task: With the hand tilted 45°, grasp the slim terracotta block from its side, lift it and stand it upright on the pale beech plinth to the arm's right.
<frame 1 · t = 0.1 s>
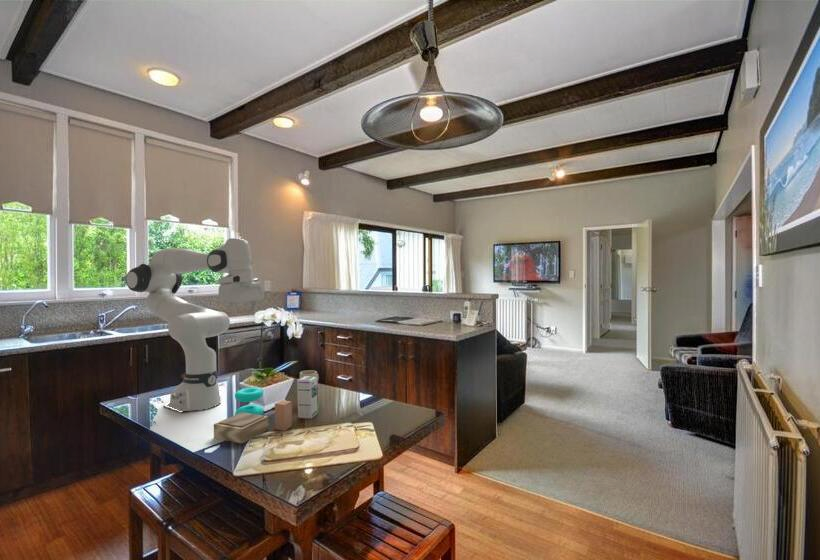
hand: (244, 313, 151), 39 cm above the table, tool pointing down, fingers open, 8 cm apart
donuts: (249, 416, 146), on the table
syrup box: (308, 416, 146), on the table
plinth: (241, 433, 130), on the table
terracotta block: (283, 427, 135), on the table
character mug: (308, 403, 162), on the table
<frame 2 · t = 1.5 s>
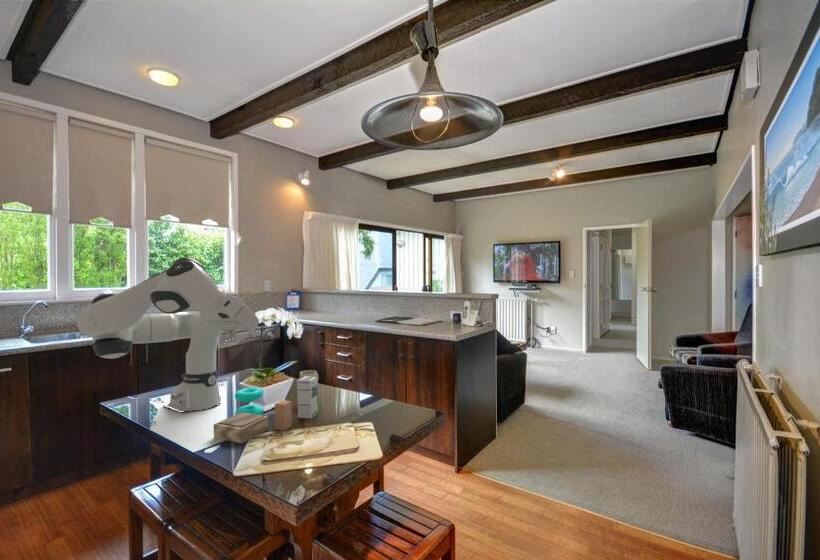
hand: (244, 335, 122), 35 cm above the table, tool tilted 45°, fingers open, 8 cm apart
nothing on the table moved.
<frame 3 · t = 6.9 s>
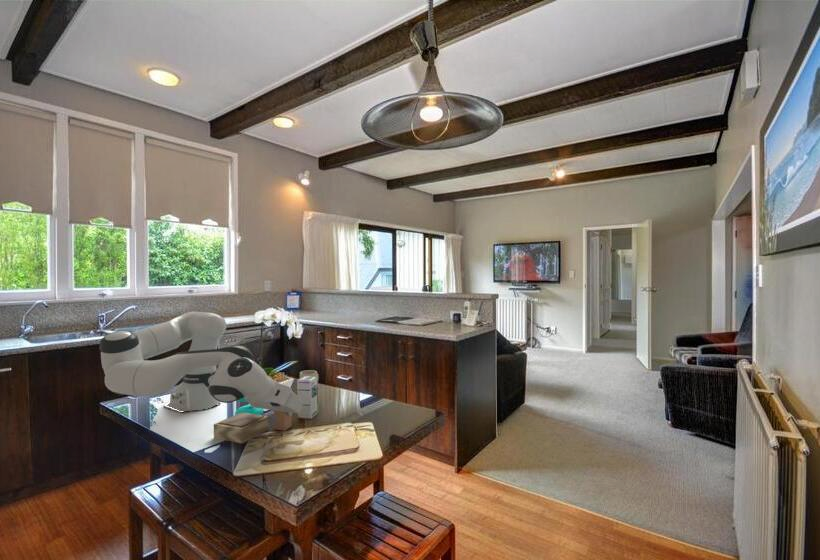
hand: (284, 412, 135), 5 cm above the table, tool tilted 45°, fingers closed on terracotta block, 4 cm apart
terracotta block: (283, 427, 135), on the table, touching gripper
everything else where it was.
when the fingers open (11 cm above the table, at t = 12.4 s): terracotta block drops 1 cm, resting on plinth.
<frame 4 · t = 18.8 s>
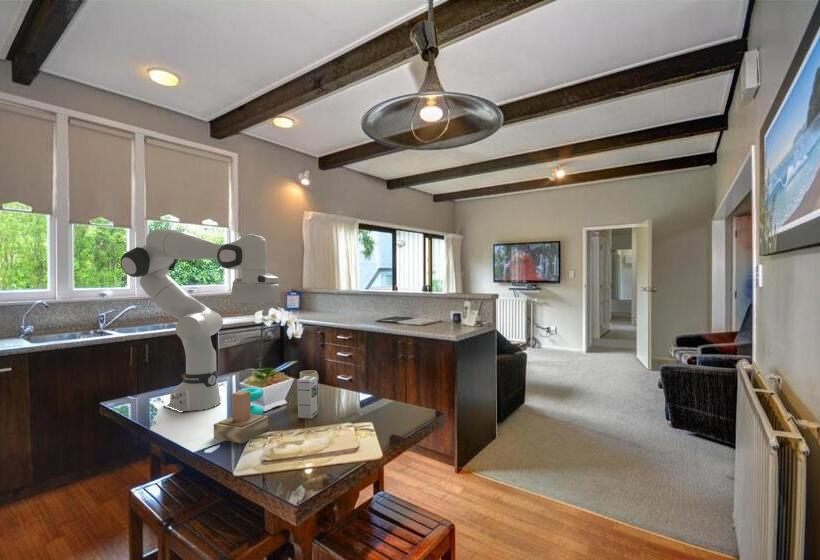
hand: (255, 315, 141), 39 cm above the table, tool pointing down, fingers open, 8 cm apart
terracotta block: (241, 419, 130), point 5 cm above the table, touching plinth
everything else where it was.
at the end: terracotta block inside the target area on the plinth (0.1 cm from its centre), point 5.0 cm above the plinth's base; terracotta block tilted 0°; the gripper is holding nothing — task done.
